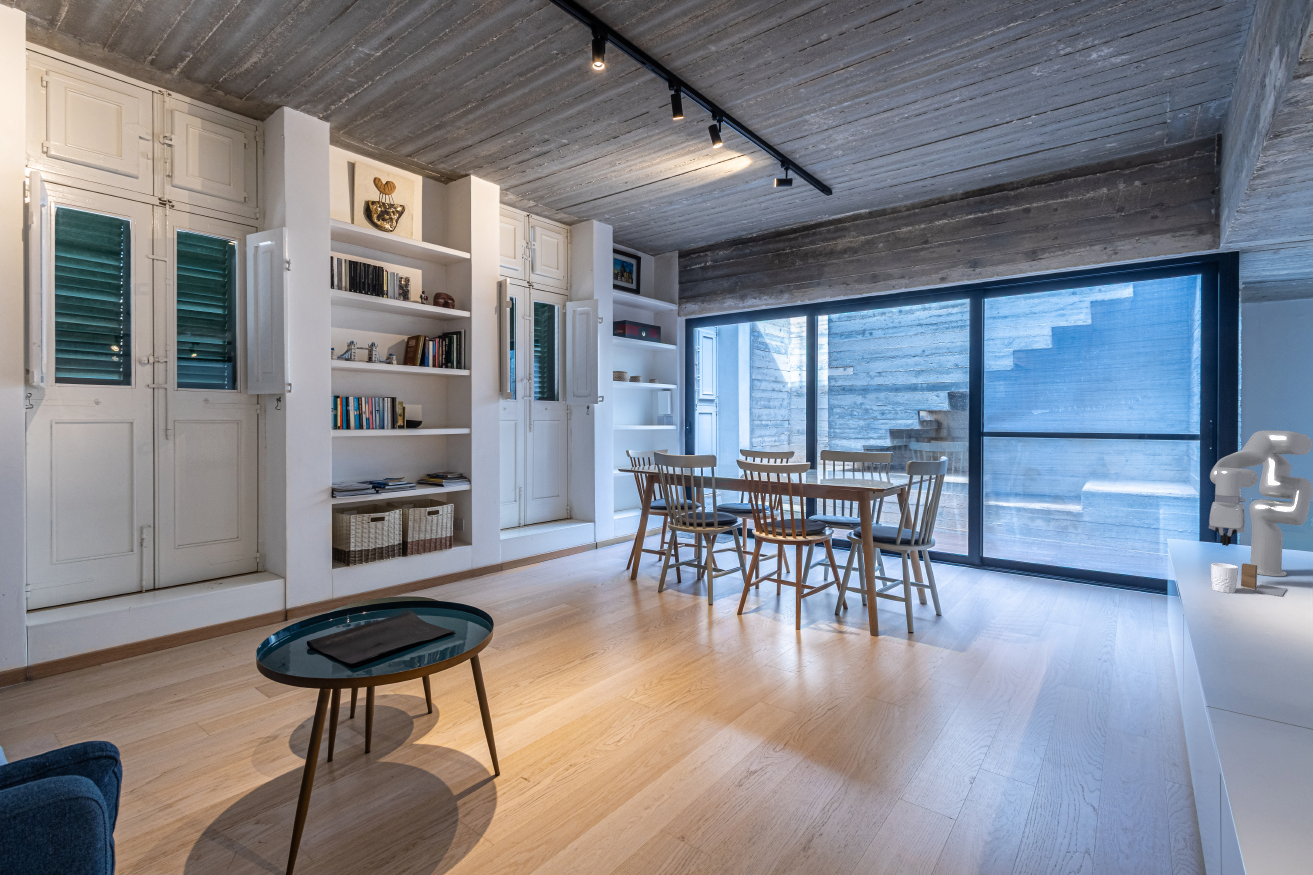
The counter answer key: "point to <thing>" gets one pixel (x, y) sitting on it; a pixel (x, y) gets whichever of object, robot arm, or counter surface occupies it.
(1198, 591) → the counter surface
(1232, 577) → the white cup
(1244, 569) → the block
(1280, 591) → the mat
